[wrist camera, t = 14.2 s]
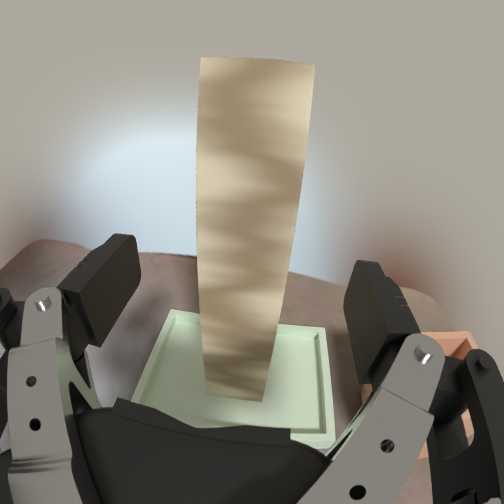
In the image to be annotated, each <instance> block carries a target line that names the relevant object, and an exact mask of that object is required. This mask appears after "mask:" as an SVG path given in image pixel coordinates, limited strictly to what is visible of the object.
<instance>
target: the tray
mask: <svg viewBox="0 0 504 504" xmlns="http://www.w3.org/2000/svg"><path fill="white" fill-rule="evenodd" d="M131 402H134V403H138V404H141V405H145V406H148V407H152V408H156V409H158V410H159V411H161V412H163V413H165V414H167V415H169V416H171V417H173V418H175V419H177V420H180V421H182V422H184V423H186V424H188V425H190V426H193V427H196V428H215V427H229V426H240V425H251V426H262V427H275V428H291V439H292V440H296V441H299V442H301V443H304V444H307V445H309V446H311V447H313V448H315V449H328V448H329V447H330V446H331V445H332V444H333V443H334V442H335V425H334V411H333V399H332V388H331V377H330V368H329V359H328V350H327V342H326V334H325V328H320V327H307V326H295V325H285V324H278V328H277V333H276V338H275V343H274V348H273V353H272V358H271V363H270V367H269V372H268V377H267V381H266V386H265V390H264V395H263V399H262V402H256V401H248V400H240V399H233V398H226V397H220V396H214V395H209V394H207V391H206V381H205V371H204V360H203V349H202V336H201V323H200V314H197V313H191V312H185V311H179V310H173V309H171V310H170V312H169V315H168V317H167V319H166V321H165V323H164V325H163V328H162V330H161V332H160V334H159V336H158V339H157V341H156V343H155V345H154V347H153V350H152V352H151V354H150V357H149V359H148V361H147V363H146V366H145V368H144V370H143V373H142V375H141V377H140V380H139V382H138V385H137V387H136V389H135V392H134V394H133V397H132V399H131Z"/></svg>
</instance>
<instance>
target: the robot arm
mask: <svg viewBox="0 0 504 504" xmlns="http://www.w3.org/2000/svg"><path fill="white" fill-rule="evenodd" d="M140 279H141V268H140V262H139V256H138V250H137V243H136V239H135V237H134V236H133V235H127V234H126V235H125V234H117V233H116V234H113V235H112V236H111V237H110V238H109V239H108V240H107V241H106V242H105V243H104V244H103V245H101V246H99V247H98V248H96V249H94V250H92V251H91V252H90V253H89V254H88V255H87V256H86V257H85V258H84V260H82V261H81V262H80V263H79V264H78V265H77V267H75V268H74V269H73V270H72V271H71V272H70V273H69V274H68V275H67V277H66V278H65V279H64V280H63V281H62V282H61V283H60V284H59V285H58V286H57V287H56V288H54V287H45V288H41V289H39V290H37V291H35V292H34V293H32V294H31V295H30V296H29V297H28V298H27V300H26V301H14V299H13V297H12V295H11V293H10V291H9V290H8V289H6V288H0V343H1V344H2V346H3V347H4V349H5V350H6V351H5V352H4V354H3V356H2V357H1V359H0V438H1V435H2V433H3V430H4V428H5V426H6V423H7V421H8V425H9V436H10V444H11V449H9V450H7V451H5V452H3V451H2V449H1V448H0V504H393V503H394V502H395V500H396V498H397V497H398V495H399V493H400V491H401V490H402V488H403V486H404V484H405V482H406V481H407V479H408V477H409V475H410V473H411V471H412V469H413V467H414V465H415V463H416V461H417V459H418V457H419V455H420V452H421V450H422V448H423V446H424V443H425V441H426V442H427V449H428V456H429V464H430V472H431V482H432V495H433V504H504V382H503V379H502V376H501V374H500V372H499V370H498V367H497V365H496V363H495V361H494V359H493V358H492V357H491V356H490V355H489V354H488V353H487V352H485V351H483V350H481V349H472V350H470V351H469V352H468V353H467V355H466V356H465V357H464V359H463V360H461V359H457V358H453V357H449V356H445V354H444V351H443V349H442V347H441V346H440V344H439V343H438V342H437V341H436V340H434V339H433V338H431V337H430V336H427V335H425V334H421V332H420V329H419V327H418V325H417V323H416V321H415V319H414V316H413V314H412V312H411V310H410V308H409V306H407V305H408V304H407V302H406V300H405V298H403V297H404V296H403V294H402V292H401V290H400V288H399V286H398V285H397V284H396V283H395V282H393V280H392V279H391V278H390V277H385V275H384V273H383V271H382V269H381V267H380V265H379V263H378V262H372V261H364V260H357V261H356V263H355V265H354V269H353V272H352V275H351V278H350V281H349V284H348V287H347V290H346V294H345V297H344V314H345V318H346V323H347V327H348V332H349V336H350V341H351V345H352V350H353V355H354V360H355V365H356V370H357V376H358V381H359V384H371V386H372V391H371V393H370V394H369V395H368V397H367V398H366V400H365V402H364V403H363V405H362V406H361V408H360V409H359V411H358V412H357V414H356V415H355V417H354V418H353V420H352V421H351V422H350V424H349V425H348V427H347V428H346V429H345V431H344V432H343V434H342V435H341V436H340V437H339V439H338V440H337V441H336V442H335V443H334V445H333V446H332V447H331V448H330V449H329V451H328V452H327V453H326V454H325V455H324V454H322V453H321V452H319V451H318V450H316V449H315V448H313V447H311V446H309V445H307V444H304V443H301V442H299V441H296V440H292V439H291V428H275V427H262V426H251V425H240V426H229V427H215V428H196V427H193V426H190V425H188V424H186V423H184V422H182V421H180V420H177V419H175V418H173V417H171V416H169V415H167V414H165V413H163V412H161V411H159V410H158V409H156V408H152V407H148V406H145V405H141V404H138V403H134V402H131V401H128V400H124V399H121V398H118V397H117V400H116V402H115V404H114V407H105V408H102V407H101V405H100V403H99V400H98V398H97V395H96V391H95V387H94V383H93V378H92V374H91V369H90V364H89V359H88V354H87V352H86V350H85V348H86V347H87V345H88V344H91V345H94V346H97V347H101V346H102V344H103V342H104V341H105V339H106V337H107V336H108V334H109V332H110V330H111V329H112V327H113V326H114V324H115V322H116V321H117V319H118V317H119V316H120V314H121V312H122V311H123V309H124V308H125V306H126V305H127V303H128V301H129V300H130V298H131V297H132V295H133V294H134V292H135V290H136V289H137V287H138V286H139V283H140ZM467 409H468V410H469V414H470V418H471V421H472V425H473V429H474V439H473V442H472V444H471V445H470V446H469V445H468V441H467V436H466V432H465V427H464V423H463V419H462V416H461V415H462V414H463V413H464V412H465V411H466V410H467Z"/></svg>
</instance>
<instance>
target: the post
mask: <svg viewBox="0 0 504 504" xmlns="http://www.w3.org/2000/svg"><path fill="white" fill-rule="evenodd" d="M314 74H315V65H314V64H307V63H300V62H293V61H283V60H273V59H258V58H229V57H228V58H227V57H225V58H224V57H222V58H201V66H200V80H199V95H198V116H197V146H196V233H197V234H196V236H197V268H198V289H199V307H200V323H201V336H202V349H203V360H204V371H205V381H206V391H207V394H209V395H214V396H220V397H226V398H233V399H240V400H248V401H256V402H262V399H263V395H264V390H265V386H266V381H267V377H268V372H269V367H270V363H271V358H272V353H273V348H274V343H275V338H276V333H277V328H278V323H279V318H280V312H281V307H282V302H283V296H284V291H285V285H286V280H287V274H288V268H289V262H290V256H291V250H292V243H293V238H294V232H295V225H296V219H297V212H298V205H299V198H300V191H301V185H302V178H303V170H304V162H305V154H306V147H307V138H308V131H309V122H310V113H311V104H312V94H313V84H314Z"/></svg>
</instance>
